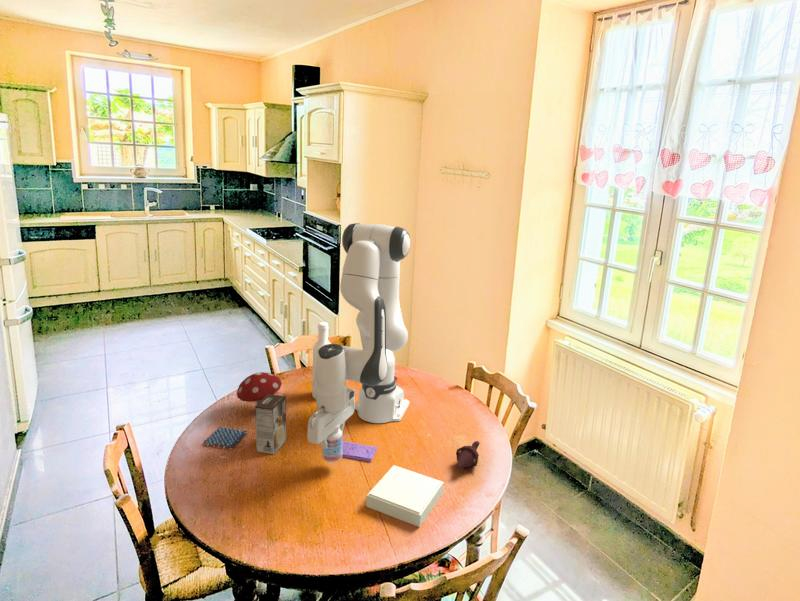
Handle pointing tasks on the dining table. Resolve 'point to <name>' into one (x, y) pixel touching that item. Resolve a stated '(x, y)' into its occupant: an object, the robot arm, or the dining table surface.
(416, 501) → the base block
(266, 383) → the decorative mushroom
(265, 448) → the coffee box
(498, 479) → the dining table surface
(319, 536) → the dining table surface
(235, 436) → the woven mat
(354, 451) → the sponges
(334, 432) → the pill bottle
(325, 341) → the bottle
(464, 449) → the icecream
